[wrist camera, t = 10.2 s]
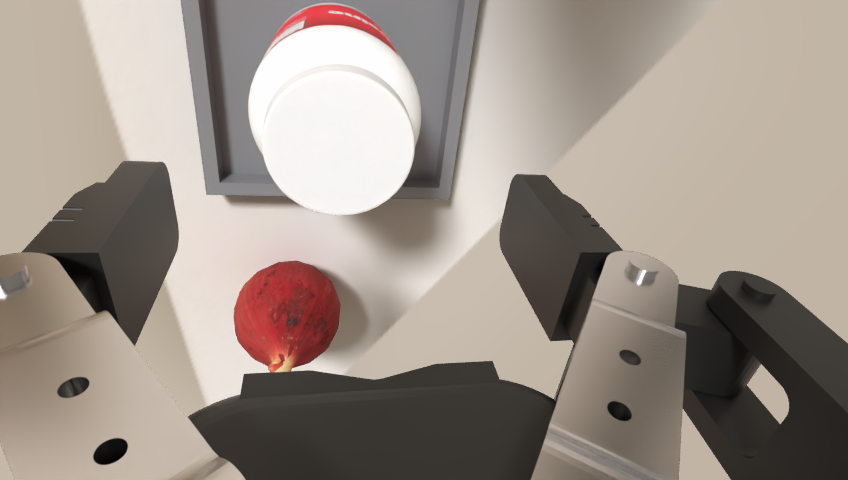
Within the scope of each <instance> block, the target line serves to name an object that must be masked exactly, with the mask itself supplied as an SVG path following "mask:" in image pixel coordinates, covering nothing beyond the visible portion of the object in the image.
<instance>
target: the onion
mask: <svg viewBox="0 0 848 480" xmlns="http://www.w3.org/2000/svg"><path fill="white" fill-rule="evenodd" d="M339 314H340V302H339V299H338V296H337V293H336V291H335V289H334V287H333V284H332V282H331V281H330V280H329V279H328V278H327V277H325V276H324V275H323V274H322V273H321V272H320V271H319V270H318V269H316V268H315V267H314V266H311V265H308V264H305V263H302V262H299V261H288V262H278V263H276V264H274V265H271V266H269V267H267V268H265V269H263V270H261V271H258V272H257V273H256V274H255V275H254V276H253V277H252V278H251V279H250V280H249V281H248V282H247V283H246V284H245V285H244V286H243V288H242V289H241V291H240V293H239V296H238V299H237V302H236V305H235V308H234V323H235V332H236V336H237V339H238V341H239V343H240V344H241V346H242V347H243V348H244V349H245V350H246V351H247V352H248V353H249V355H250V356H251V357H252V358H254V359H255V360H257V361H259V362H261V363H263V364H265V365H267V366H268V370H269V371H270V372H271V373H273V372H291V369H292V368H294V367H298V366H301V365H304V364H307V363H310V362H311V361H312V360H314V359H315V358H316V357H318V356H319V355H320V354H322V353H323V352H324V351H325V350H326V349H327V348H328V347H329V345H330V343H331V341H332V339H333V338H334V336H335V334H336V331H337V329H338V324H339Z"/></svg>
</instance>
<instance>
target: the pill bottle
mask: <svg viewBox="0 0 848 480" xmlns="http://www.w3.org/2000/svg"><path fill="white" fill-rule="evenodd" d="M248 115H249V122H250V127H251V130H252V134H253V137H254V139H255V142H256V144H257V146H258V148H259V150H260V151H261V153H262V154H263V157H264V161H265V164H266V167H267V169H268V171H269V173H270V175H271V177H272V179H273V180H274V182H275V183H276V184H277V186H278V187H279V188H280V189H281V190H282V192H283V193H285V194H286V195H287V196H288V197H289V198H290V199H292V200H293V201H295V202H296V203H298V204H299V205H301V206H303V207H305V208H307V209H310V210H312V211H315V212H319V213H323V214H328V215H338V216H344V215H353V214H359V213H363V212H366V211H369V210H371V209H373V208H376V207H378V206H379V205H381V204H383V203H384V202H386V201H387V200H388V199H389V198H391V197H392V196H393V195H394V194H395V193H396V192H397V191H398V190H399V189H400V187H401V186H402V184H403V183H404V182H405V180H406V178H407V176H408V174H409V172H410V169H411V166H412V163H413V159H414V152H415V146H416V143H417V140H418V136H419V133H420V127H421V104H420V97H419V94H418V90H417V87H416V84H415V82H414V79H413V77H412V75H411V73H410V71H409V69H408V68H407V66H406V64H405V63H404V61H403V60H402V58H401V56H400V55H399V53H398V52H397V50H396V49H395V47H394V46H393V44H392V43H391V41H390V40H389V38H388V37H387V35H386V34H385V32H384V31H383V30H382V29H381V27H380V26H379V25H378V24H377V23H376V22H375V21H374V20H373V19H371V18H370V17H369V16H367V15H366V14H365V13H363V12H361V11H360V10H357V9H355V8H353V7H350V6H347V5H344V4H338V3H319V4H314V5H311V6H308V7H306V8H303V9H301V10H299V11H298V12H296V13H295V14H293V15H292V16H291V17H289V18H288V19H287V20H286V21H285V22H284V24H283V25H282V26H281V27H280V29H279V30H278V32H277V33H276V35H275V37H274V38H273V40H272V42H271V44H270V46H269V48H268V50H267V51H266V54H265V55H264V57H263V59H262V61H261V63H260V65H259V66H258V69H257V71H256V73H255V76H254V78H253V81H252V84H251V88H250V93H249V100H248Z"/></svg>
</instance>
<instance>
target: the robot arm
mask: <svg viewBox="0 0 848 480" xmlns="http://www.w3.org/2000/svg"><path fill="white" fill-rule="evenodd" d="M599 226H600V225H599V224H598V222H596V220H595V219H594V218H591V215H590V214H589V213H588V212H587V210H586V209H585V208H584V207H583V206H582V205H581V204H579V203H578V202H576V201H574V200H573V199H571V198H569V197H568V196H566V195H564V194H562V192H561V191H560V190H559V189H558V188H557V187H556V186H555V185H554V183H552V181H551V180H550V179H549V178H548V177H547V176H546V175H524V174H517V175H515V176H514V177H513V179H512V181H511V184H510V189H509V193H508V197H507V202H506V206H505V210H504V215H503V219H502V223H501V228H500V247H501V250H502V253H503V255H504V256H505V259H506V260H507V262H508V264H509V266H510V268H511V270H512V271H513V273H514V275H515V277H516V279H517V280H518V282H519V284H520V286H521V288H522V290H523V292H524V293H525V295H526V297H527V299H528V301H529V303H530V304H531V306H532V308H533V310H534V312H535V314H536V315H537V317H538V319H539V321H540V323H541V324H542V327H543V328H544V330H545V332H546V334H547V336H548V338H549V339H550V341H562V340H572V341H573V343H574V345H573V348H572V350H571V353H570V356H569V358H568V361H567V364H566V367H565V370H564V373H563V375H562V378H561V381H560V384H559V386H558V389H557V392H556V395H555V398H554V399H552V398H550V397H549V396H547V395H545V394H543V393H541V392H539V391H536V390H534V389H532V388H529V387H526V386H524V385H521V384H518V383H514V382H510V381H505V380H500V379H499V377H498V375H497V372H496V369H495V367H494V364H493V362H492V361H484V362H465V363H448V364H447V363H446V364H434V365H431V366H427V367H423V368H420V369H416V370H412V371H409V372H405V373H401V374H398V375H394V376H390V377H387V378H384V379H377V380H371V379H363V378H357V377H349V376H343V375H337V374H330V373H323V372H316V371H292V372H273V373H254V374H244V377H243V383H242V389H241V394H240V395H237V396H233V397H230V398H227V399H224V400H222V401H219V402H216V403H214V404H212V405H209V406H207V407H205V408H203V409H201V410H199V411H197V412H195V413H194V414H192V415H190V416H188V417H187V415H186V414H185V413H184V412H183V411H182V409H181V407H180V406H179V405H178V403H177V402H176V401H175V400H174V398H173V397H172V395H171V394H170V393H169V391H168V390H167V389H166V387H165V386H164V385H163V384H162V382H161V381H160V380H159V378H158V377H157V376H156V374H155V373H154V372H153V370H152V369H151V368H150V366H149V365H148V364H147V362H146V361H145V360H144V359H143V357H142V356H141V354H140V353H139V352H138V351H137V349H136V348H135V344H136V342H137V340H138V337H139V335H140V333H141V331H142V328H143V326H144V324H145V322H146V319H147V317H148V315H149V313H150V310H151V308H152V306H153V304H154V301H155V299H156V297H157V295H158V292H159V290H160V288H161V286H162V283H163V281H164V279H165V277H166V274H167V272H168V270H169V268H170V265H171V263H172V261H173V259H174V256H175V254H176V251H177V247H178V239H179V230H178V222H177V217H176V211H175V206H174V200H173V195H172V189H171V184H170V178H169V173H168V170H167V167H166V165H165V164H164V163H163V162H143V161H124V162H122V163H121V164H120V165H119V167H118V168H117V169H116V170H115V171H114V173H113V174H112V175H111V176H110V177H109V179H108V180H107V181H106V182H105V183H95V184H93V185H91V186H90V187H87V188H85V189H83V190H81V191H79V192H78V193H76V194H74V195H73V197H72V198H71V199H70V200H69V201H68V202H67V203H66V204H65V205H64V206H63V210H60V211H59V212H58V213H57V214H56V215H55V216H54V217H53V221H52V222H49V223H48V224H47V225H46V226H45V227H44V228H43V229H42V230H41V232H40V233H39V234H38V235H37V236H36V237H35V238H34V239H33V240H32V241H31V242H30V244H29V245H28V246H27V247H26V248H25V249H24V250H23V251H22V252H21V253H12V254H7V255H1V256H0V445H1V447H2V450H3V452H4V455H5V457H6V460H7V462H8V465H9V467H10V470H11V472H12V475H13V477H14V480H679V464H680V463H679V462H680V444H681V427H682V409H684V411H685V412H686V413H687V415H688V416H689V418H690V419H691V421H692V422H693V424H694V425H695V427H696V428H697V430H698V431H699V433H700V434H701V436H702V437H703V438H704V440H705V442H706V443H707V445H708V446H709V448H710V449H711V450H712V452H713V454H714V455H715V457H716V458H717V459H718V461H719V462H720V464H721V465H722V467H723V468H724V470H725V471H726V473H727V474H728V476H729V477H730V479H731V480H848V343H846V342H845V341H844V340H843V339H842V338H840V337H839V336H838V335H837V334H836V333H835V332H834V331H832V330H831V329H830V328H829V327H828V326H826V325H825V324H824V323H823V322H822V321H821V320H819V319H818V318H817V317H816V316H815V315H814V314H812V313H811V312H810V311H809V310H808V309H807V308H805V307H804V306H803V305H802V304H801V303H799V302H798V301H797V300H796V299H795V298H794V297H792V296H791V295H790V294H789V293H788V292H786V291H785V290H784V289H782V288H781V287H779V286H778V285H776V284H774V283H773V282H771V281H769V280H766V279H764V278H762V277H759V276H756V275H753V274H749V273H745V272H740V271H727V272H723V273H721V274H720V275H719V277H718V279H717V281H716V282H715V284H714V286H713V288H712V290H707V289H702V288H697V287H692V286H686V285H681V284H679V281H678V278H677V275H676V274H675V272H673V270H672V269H671V268H669V267H668V266H667V265H666V264H664V263H662V262H661V261H659V260H657V259H655V258H653V257H650V256H648V255H645V254H642V253H637V252H633V251H623V250H622V249H621V248H620V246H619V245H618V244H616V242H615V241H614V240H613V239H612V238H611V237H610V236H609V234H608V233H607V232H606V231H605V230H604V229H603V228H602V227H599ZM761 364H762V365H763V366H764V367H765V368H766V369H767V370H768V372H769V373H770V374H771V375H772V376H773V377H774V378H775V379H776V380H777V381H778V382H779V383H780V385H781V386H782V387H783V388H784V390H785V392H786V394H787V396H788V399H789V412H788V415H787V417H786V418H785V419H784V421H783V422H782V423H781V424H779V423H778V421H777V420H776V419H775V418H774V417H773V416H772V414H771V413H770V412H769V411H768V410H767V408H766V407H765V406H764V405H763V404H762V403H761V401H760V400H759V399H758V398H757V397H756V395H755V394H754V393H753V392H752V391H751V390H750V389H749V387H748V386H747V384H748V382H749V381H750V379H751V378H752V376H753V375H754V373H755V372H756V370H757V369H758V368H759V366H760V365H761Z"/></svg>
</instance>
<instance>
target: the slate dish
mask: <svg viewBox="0 0 848 480" xmlns="http://www.w3.org/2000/svg"><path fill="white" fill-rule="evenodd" d="M479 2H480V0H181V6H182V14H183V21H184V29H185V36H186V44H187V52H188V59H189V67H190V74H191V82H192V89H193V97H194V104H195V112H196V119H197V127H198V134H199V142H200V149H201V157H202V164H203V172H204V179H205V187H206V194H207V195H250V196H287V195H286V194H285V193H283V192H282V190H281V189H280V188H279V187H278V186H277V184H276V183H275V182H274V180H273V179H272V177H271V175H270V173H269V171H268V169H267V167H266V164H265V161H264V157H263V154H262V153H261V151H260V150H259V148H258V146H257V144H256V142H255V139H254V137H253V134H252V130H251V127H250V122H249V115H248V100H249V93H250V88H251V84H252V81H253V78H254V76H255V73H256V71H257V69H258V66H259V65H260V63H261V61H262V59H263V57H264V55H265V54H266V51H267V50H268V48H269V46H270V44H271V42H272V40H273V38H274V37H275V35H276V33H277V32H278V30H279V29H280V27H281V26H282V25H283V24H284V22H285V21H286V20H287V19H288V18H289V17H291V16H292V15H293V14H295V13H296V12H298V11H299V10H301V9H303V8H306V7H308V6H311V5H314V4H319V3H338V4H344V5H347V6H350V7H353V8H355V9H357V10H360V11H361V12H363V13H365V14H366V15H367V16H369V17H370V18H371V19H373V20H374V21H375V22H376V23H377V24H378V25H379V26H380V27H381V29H382V30H383V31H384V32H385V34H386V35H387V37H388V38H389V40H390V41H391V43H392V44H393V46H394V47H395V49H396V50H397V52H398V53H399V55H400V56H401V58H402V60H403V61H404V63H405V64H406V66H407V68H408V69H409V71H410V73H411V75H412V77H413V79H414V82H415V84H416V87H417V90H418V94H419V97H420V104H421V127H420V133H419V136H418V140H417V143H416V146H415V152H414V159H413V163H412V166H411V169H410V172H409V174H408V176H407V178H406V180H405V182H404V183H403V184H402V186H401V187H400V189H399V190H398V191H397V192H396V193H395V194H394V195H393V196H392V197H391V198H401V199H450V193H451V186H452V180H453V173H454V167H455V160H456V154H457V147H458V140H459V134H460V127H461V121H462V114H463V108H464V101H465V94H466V88H467V81H468V75H469V68H470V62H471V55H472V48H473V42H474V35H475V29H476V22H477V16H478V9H479Z"/></svg>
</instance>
